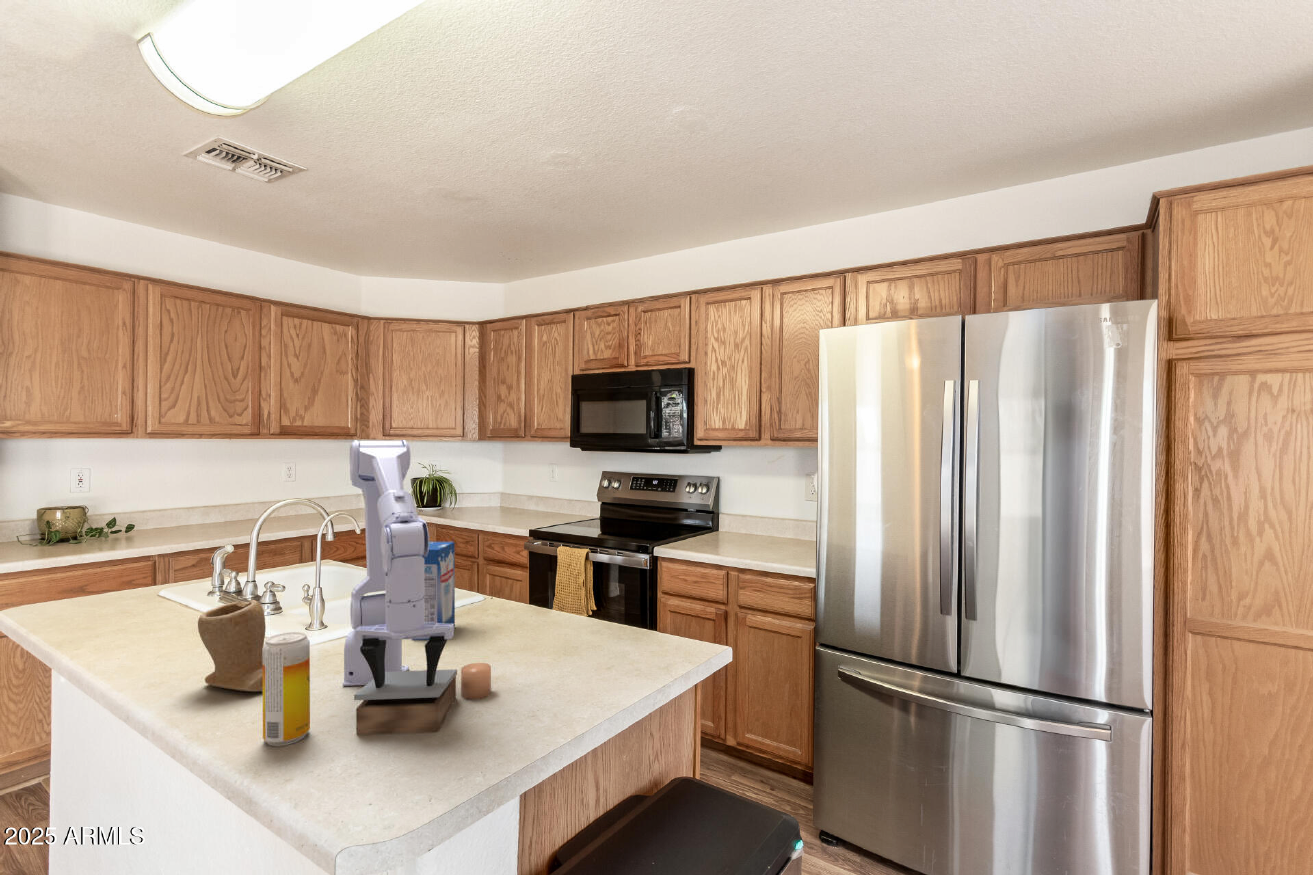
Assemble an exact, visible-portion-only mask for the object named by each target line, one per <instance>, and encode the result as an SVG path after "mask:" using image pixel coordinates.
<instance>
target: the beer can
mask: <svg viewBox="0 0 1313 875" xmlns="http://www.w3.org/2000/svg"><path fill="white" fill-rule="evenodd" d="M310 644H311V642H310V640H309V638H308V635H307V633H305V632H301V631H291V632H283V633H278V634H275V635H272V636H269V637H268V638H266V640H265V641H264V646H263V649H262V660H263V691H262V740H264V741H265V742H266V743H267V744H268V745H269V746H273V747H281V746H287V745H291V744H294V743H297V742H300V741H301V740H303V739H304V738H305V737H306V736H307V733H308V732H309V731H310V729H311V687H310V686H311V681H310V679H311V676H310V675H311V668H310V667H311V666H310V665H311V661H310V657H311V649H310Z"/></svg>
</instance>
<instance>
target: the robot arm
mask: <svg viewBox="0 0 1313 875" xmlns="http://www.w3.org/2000/svg"><path fill="white" fill-rule="evenodd" d="M410 466H411V448H410V444H409V443H408V441H407V440H405V439H402V440H357V439H355V440H353V442H351V443H350V447H349V473H350V475H349V476H350V477H349V478H350V481H351V485H352V486H353V487H355V488H358V489H360V491H361V492H362V497H363V500H364V521H365V522H364V523H365V524H364V525H365V526H364V527H365V529H364V530H365V550H366V551H365V552H366V553H365V554H366V577H365V578H364V579H363V580H361V581H360V582H359V583H358V584H356V585H355V586H354V587H353V589H352V591H351V593H350V596H351V598H350V599H351V600H350V606H349V608H350V611H349V612H350V625H351V629H352V630H350V631H349V632H348V634H347V635H346V638H345V641H344V642H345V643H344V648H343V666H344V667H343V670H344V671H343V682H342V686H348V687H349V686H366V685H367V684H368V683H369V682H370V681H372V680H373V679H374V682H375V686H376V688H381V687H382V686H383V685H384V684H385V672H392V671H409V669H410V666H409V665H403V644H402V643H403V642H402V641H403V640H412V639H429V640H427V642H426V643H425V644H424V650H425V657H426V658H425V660H426V670H427V676H426V684H427V686H432V685H433V683H434V682H435V674H436V670H438V665H439V662H440V659H441V655H442V653H443V651H444V648H445V646H446V644H447V642H448V640H452V638H453V637H454V636H455V627H454V624H443V623H430V622H425V603H424V558H423V557H422V556H423V555H424V556H425V557H426V556H427V555H428V551H429V542H430V533H429V528H428V524H427V522H426V520H425V519H423V517H419V514H418V511H417V508H416V504H415V501H414V497H413V495H412V494H411V493H410V492H409V491H406V490H405V488H404V480H405V479H406V476H407V473H408V471H409V470H410V468H411V467H410ZM376 592H377V593H376ZM378 592H384V593H378ZM369 593H376V594H369ZM366 594H369V595H366Z"/></svg>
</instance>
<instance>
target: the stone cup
mask: <svg viewBox="0 0 1313 875" xmlns="http://www.w3.org/2000/svg"><path fill="white" fill-rule="evenodd" d="M265 617H266V616H265V611H264V607H263V606H262V605H261V603H260V602H258V601H257V600H255V599H251V600H250V601H242V600H241V601H234V602H229V603H226V604H222V605H219V606H217V607H215V608H211V609H209V610H207V611H205V612H203V613H202V614H201V615H200V616H199V617H198V620H197V630H198V635H199V637H200V639H201V641H202V643H203V645H204V647H205V649H206V650H207V652H208V654H209V655H210V657H211V659H212V661H213V665H214V671H212V672H211V673H210V674H208V675H207V676H206V677H205V678H204V681H205V684H207V685H209V686H212V687H217V688H222V689H229V690H236V691H241V692H263V660H262V649H263V646H264V644H265V637H266V630H267V629H266V627H267V626H266V618H265Z"/></svg>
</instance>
